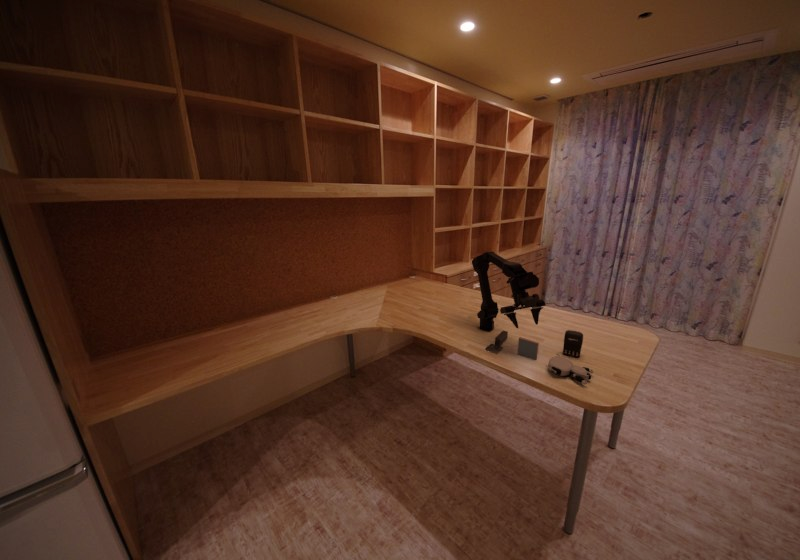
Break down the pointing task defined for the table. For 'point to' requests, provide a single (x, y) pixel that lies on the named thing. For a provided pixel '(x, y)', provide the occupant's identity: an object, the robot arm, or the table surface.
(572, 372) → the robot toy
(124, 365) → the table surface
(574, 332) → the battery charger
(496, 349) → the turner
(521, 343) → the tile
